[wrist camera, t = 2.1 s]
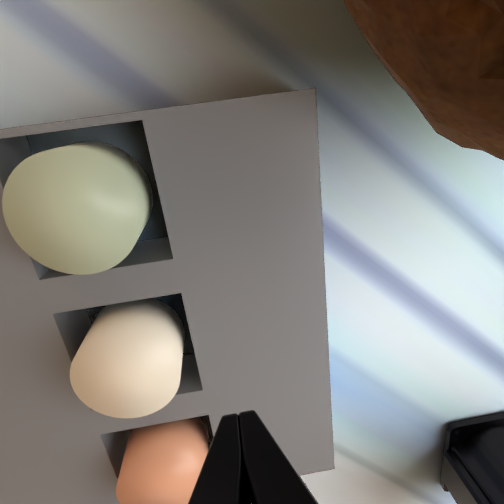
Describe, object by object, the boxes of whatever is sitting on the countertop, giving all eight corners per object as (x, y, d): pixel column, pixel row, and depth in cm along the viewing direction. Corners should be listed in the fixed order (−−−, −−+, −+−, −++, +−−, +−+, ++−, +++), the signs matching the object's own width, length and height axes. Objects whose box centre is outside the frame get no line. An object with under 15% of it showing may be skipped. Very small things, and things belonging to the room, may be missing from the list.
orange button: (201, 401, 19) (199, 449, 17) (214, 457, 21) (214, 510, 18) (119, 416, 19) (104, 467, 16) (139, 472, 21) (128, 527, 18)
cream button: (174, 288, 17) (168, 324, 14) (192, 363, 18) (189, 408, 16) (80, 304, 17) (54, 343, 14) (106, 378, 18) (87, 426, 15)
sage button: (139, 133, 14) (121, 139, 11) (162, 237, 16) (153, 264, 13) (25, 149, 14) (-20, 158, 11) (61, 252, 16) (30, 283, 13)
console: (296, 91, 16) (315, 88, 13) (319, 426, 23) (334, 468, 20) (-135, 148, 15) (-216, 157, 12) (36, 479, 22) (12, 531, 19)
